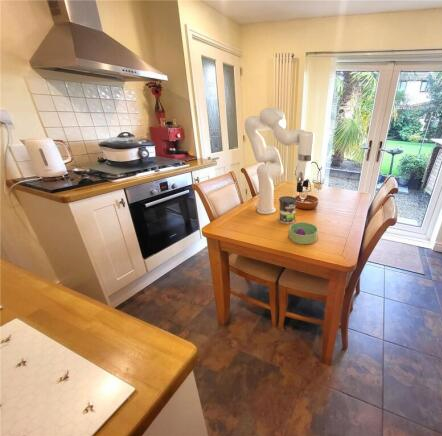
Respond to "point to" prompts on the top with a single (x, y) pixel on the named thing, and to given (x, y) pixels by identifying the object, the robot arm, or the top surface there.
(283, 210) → the coffee can
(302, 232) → the ball
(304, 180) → the robot arm
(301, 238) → the bowl
